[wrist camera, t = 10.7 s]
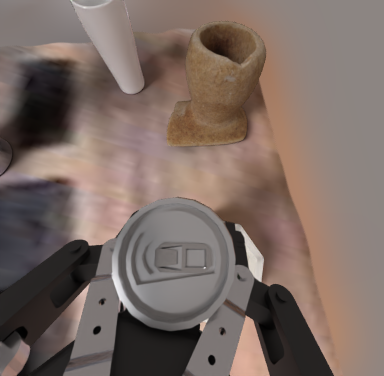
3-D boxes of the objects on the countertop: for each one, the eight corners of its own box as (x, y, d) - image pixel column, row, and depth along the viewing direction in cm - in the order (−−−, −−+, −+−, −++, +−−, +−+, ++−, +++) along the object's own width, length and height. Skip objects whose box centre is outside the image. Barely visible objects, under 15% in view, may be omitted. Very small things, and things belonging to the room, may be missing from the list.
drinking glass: (127, 67, 38) (86, -35, 23) (154, 79, 37) (129, -19, 22) (110, 91, 36) (55, -3, 22) (138, 103, 35) (100, 15, 21)
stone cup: (240, 96, 36) (274, 4, 21) (247, 148, 33) (290, 84, 18) (168, 98, 36) (151, 8, 21) (168, 151, 33) (149, 88, 18)
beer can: (211, 217, 19) (237, 193, 7) (212, 270, 18) (245, 340, 6) (163, 216, 19) (115, 191, 8) (160, 269, 18) (95, 336, 6)
